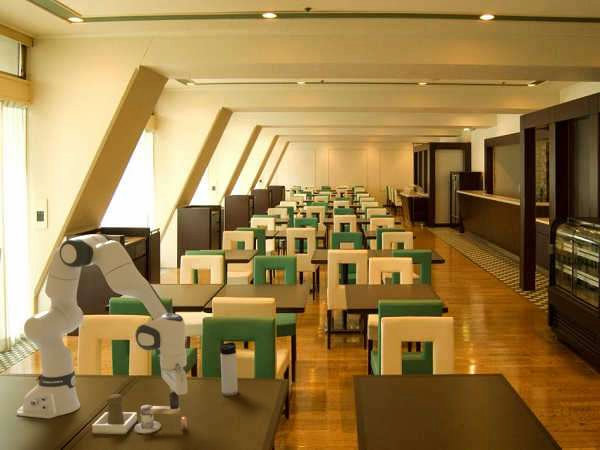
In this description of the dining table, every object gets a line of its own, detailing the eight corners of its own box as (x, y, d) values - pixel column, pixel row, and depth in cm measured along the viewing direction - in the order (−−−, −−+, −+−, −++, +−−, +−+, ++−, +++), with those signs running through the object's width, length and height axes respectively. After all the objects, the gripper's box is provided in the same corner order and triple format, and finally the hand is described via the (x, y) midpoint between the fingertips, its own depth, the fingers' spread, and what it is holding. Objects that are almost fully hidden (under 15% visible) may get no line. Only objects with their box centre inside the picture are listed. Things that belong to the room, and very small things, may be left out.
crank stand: (130, 433, 218) (129, 418, 217) (139, 423, 227) (138, 408, 226) (183, 434, 216) (182, 418, 216) (190, 423, 225) (189, 408, 224)
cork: (119, 429, 220) (118, 398, 219) (103, 428, 221) (102, 397, 220) (128, 422, 226) (126, 392, 225) (112, 421, 227) (110, 391, 226)
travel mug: (241, 391, 256) (239, 342, 254) (232, 396, 250) (230, 347, 248) (227, 389, 259) (225, 341, 257) (219, 394, 253) (216, 345, 251)
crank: (139, 414, 220) (138, 395, 219) (143, 410, 224) (142, 391, 223) (177, 415, 218) (176, 395, 218) (180, 410, 222) (179, 391, 222)
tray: (92, 433, 219) (92, 425, 219) (106, 420, 230) (105, 412, 230) (125, 433, 218) (124, 425, 217) (137, 420, 229) (136, 412, 229)
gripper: (191, 367, 214) (192, 407, 215) (174, 351, 232) (175, 388, 233) (173, 370, 211) (174, 410, 212) (157, 353, 229) (158, 391, 230)
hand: (174, 398), depth 223 cm, fingers closed
